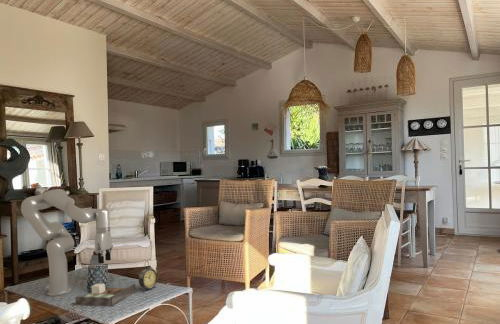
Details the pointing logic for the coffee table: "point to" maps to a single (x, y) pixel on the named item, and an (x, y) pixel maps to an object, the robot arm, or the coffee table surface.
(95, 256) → the perfume bottle
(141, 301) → the coffee table surface
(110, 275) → the coffee table surface
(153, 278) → the alarm clock
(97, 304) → the box
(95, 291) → the block
